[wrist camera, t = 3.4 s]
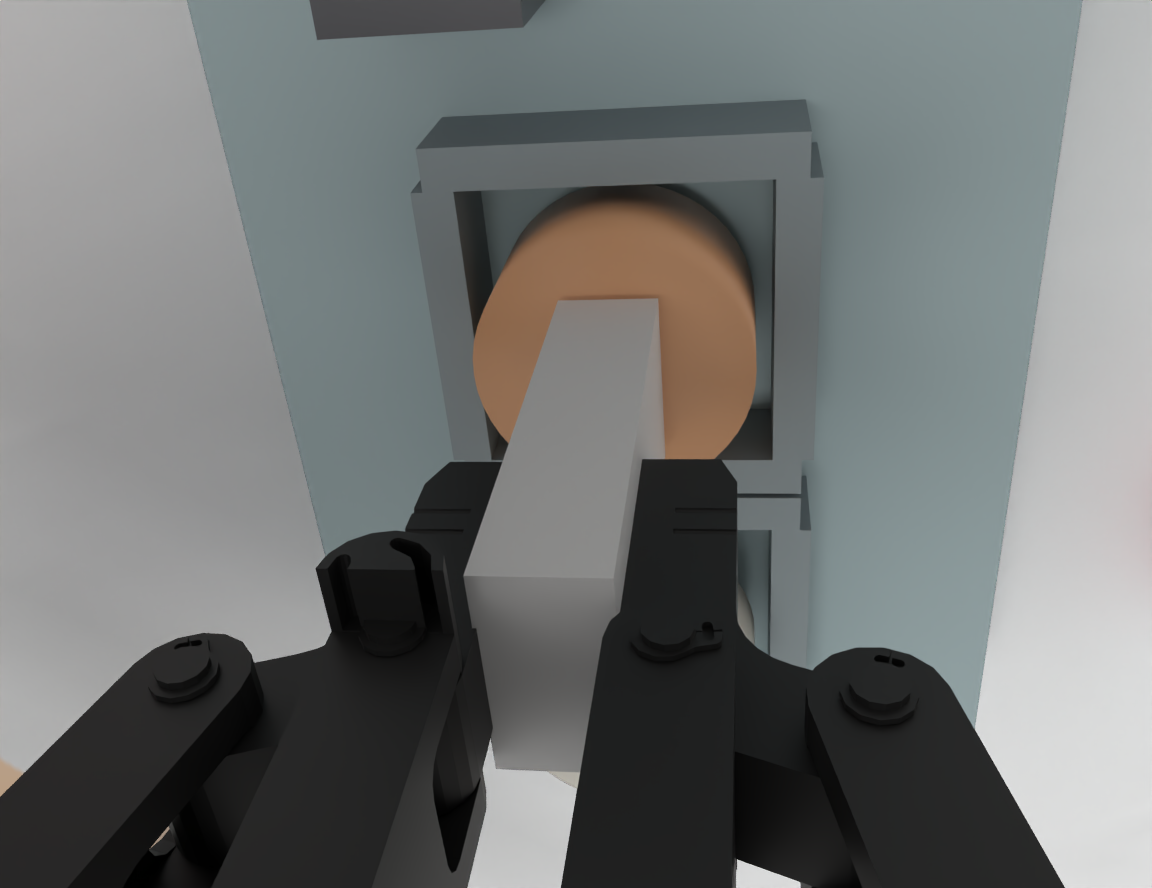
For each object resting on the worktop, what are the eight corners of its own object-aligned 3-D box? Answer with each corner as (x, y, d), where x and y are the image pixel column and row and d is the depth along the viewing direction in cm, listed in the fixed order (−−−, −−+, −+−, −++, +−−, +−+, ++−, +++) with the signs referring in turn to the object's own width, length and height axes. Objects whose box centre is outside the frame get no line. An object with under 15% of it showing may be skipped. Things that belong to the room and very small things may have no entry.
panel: (411, 624, 30) (342, 805, 25) (75, -999, 15) (-278, -1399, 10) (942, 636, 28) (988, 837, 23) (1168, -1236, 13) (1455, -1903, 8)
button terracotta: (516, 415, 21) (490, 489, 19) (487, 186, 18) (454, 242, 16) (754, 414, 20) (756, 490, 18) (754, 176, 18) (757, 233, 16)
